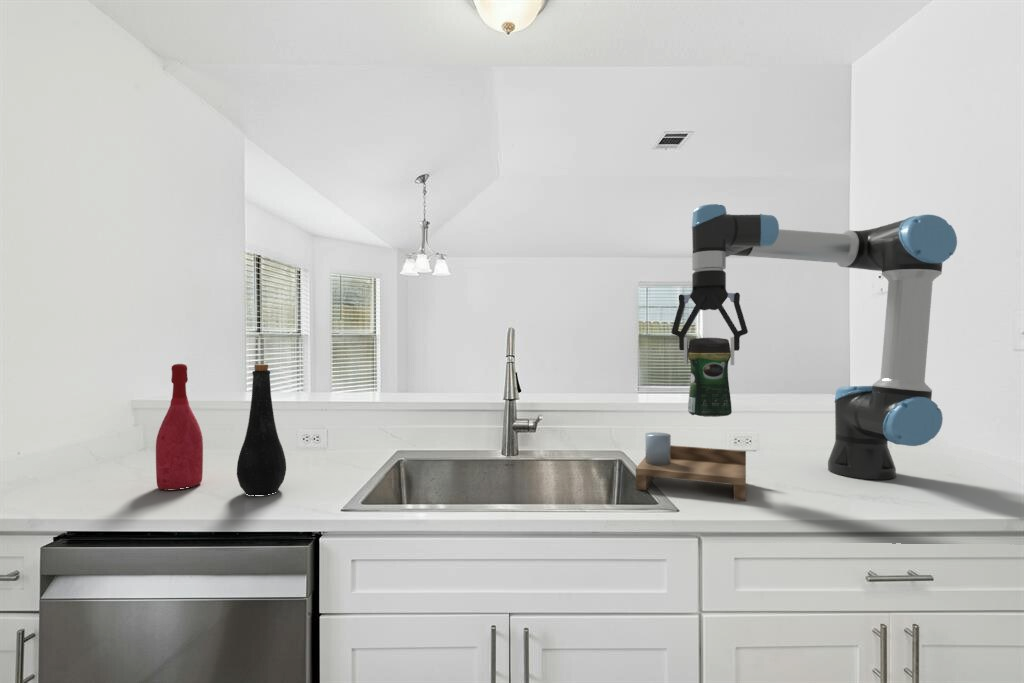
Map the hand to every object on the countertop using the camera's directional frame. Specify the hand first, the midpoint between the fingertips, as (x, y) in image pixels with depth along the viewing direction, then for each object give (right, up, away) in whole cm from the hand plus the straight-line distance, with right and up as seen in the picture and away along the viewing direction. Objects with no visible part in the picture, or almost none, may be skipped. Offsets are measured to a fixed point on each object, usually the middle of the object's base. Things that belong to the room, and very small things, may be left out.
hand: (708, 364), depth 129 cm
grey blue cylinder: (-11, -25, +5) cm, 27 cm away
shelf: (-4, -30, +2) cm, 30 cm away
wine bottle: (-129, -30, +3) cm, 132 cm away
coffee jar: (0, -12, 0) cm, 12 cm away
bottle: (-106, -30, -3) cm, 110 cm away
